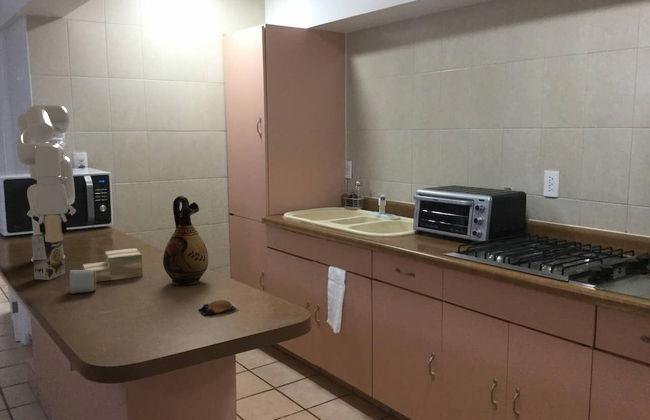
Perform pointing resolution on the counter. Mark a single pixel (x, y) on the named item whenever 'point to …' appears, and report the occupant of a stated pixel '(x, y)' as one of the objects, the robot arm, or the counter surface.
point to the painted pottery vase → (185, 247)
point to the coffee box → (47, 258)
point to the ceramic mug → (82, 281)
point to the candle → (53, 228)
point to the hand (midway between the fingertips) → (53, 233)
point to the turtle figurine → (217, 308)
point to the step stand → (118, 265)
